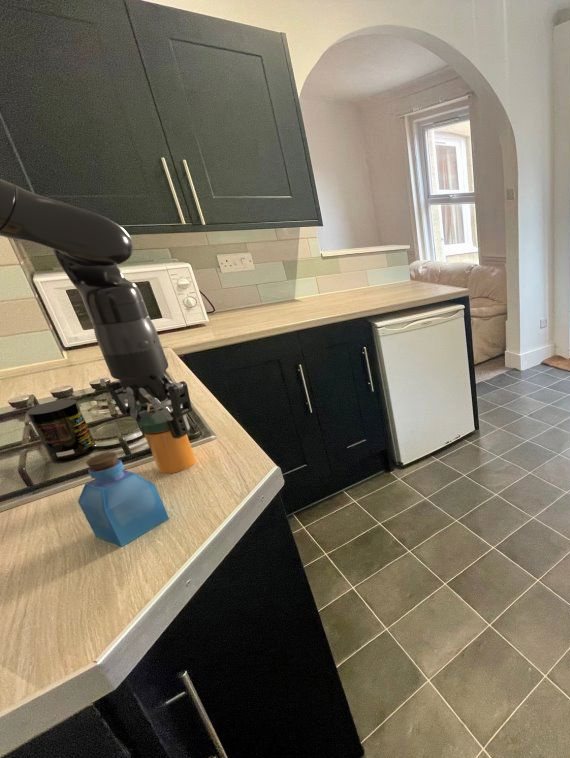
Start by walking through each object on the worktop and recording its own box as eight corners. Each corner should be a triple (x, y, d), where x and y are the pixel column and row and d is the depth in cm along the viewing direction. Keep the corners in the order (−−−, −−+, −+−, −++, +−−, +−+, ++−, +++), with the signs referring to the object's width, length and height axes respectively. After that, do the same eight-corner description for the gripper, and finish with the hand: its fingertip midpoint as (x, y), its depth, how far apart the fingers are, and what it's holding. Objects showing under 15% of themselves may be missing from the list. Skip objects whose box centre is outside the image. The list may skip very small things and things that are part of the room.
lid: (176, 415, 79) (174, 408, 78) (186, 423, 75) (183, 416, 75) (137, 427, 74) (134, 419, 74) (145, 436, 71) (142, 428, 71)
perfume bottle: (122, 546, 59) (87, 474, 54) (95, 536, 61) (60, 466, 56) (169, 518, 64) (140, 450, 60) (143, 510, 66) (113, 444, 62)
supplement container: (100, 442, 87) (79, 396, 84) (95, 455, 82) (73, 407, 78) (55, 452, 84) (31, 405, 80) (47, 467, 79) (21, 417, 75)
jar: (153, 476, 75) (134, 430, 72) (167, 460, 80) (150, 417, 77) (189, 470, 76) (172, 425, 73) (200, 455, 81) (185, 412, 78)
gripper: (188, 340, 72) (217, 427, 78) (118, 338, 74) (151, 423, 80) (147, 354, 65) (182, 448, 71) (70, 351, 67) (111, 443, 73)
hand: (165, 435), depth 76 cm, fingers closed on lid, 5 cm apart
